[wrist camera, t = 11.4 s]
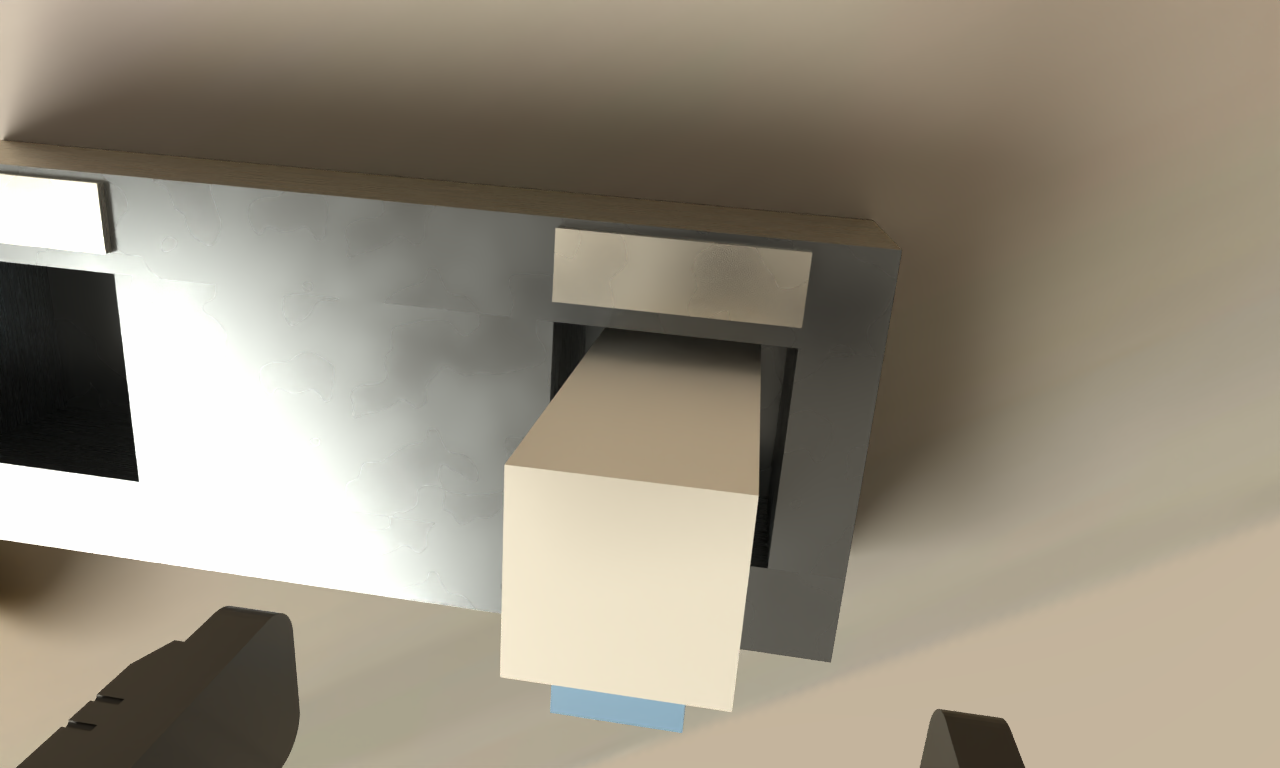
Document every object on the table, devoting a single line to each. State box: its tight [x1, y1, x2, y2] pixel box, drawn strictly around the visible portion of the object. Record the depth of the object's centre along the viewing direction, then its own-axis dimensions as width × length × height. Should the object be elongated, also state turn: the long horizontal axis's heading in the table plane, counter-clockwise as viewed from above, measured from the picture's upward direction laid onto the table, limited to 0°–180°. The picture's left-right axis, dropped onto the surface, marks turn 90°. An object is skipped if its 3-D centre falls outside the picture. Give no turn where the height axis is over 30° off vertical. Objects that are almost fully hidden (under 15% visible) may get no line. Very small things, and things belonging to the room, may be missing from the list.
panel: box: [0, 140, 902, 662], centre depth 23 cm, size 10×25×5 cm, turn 85°
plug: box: [500, 327, 761, 733], centre depth 19 cm, size 5×4×10 cm
